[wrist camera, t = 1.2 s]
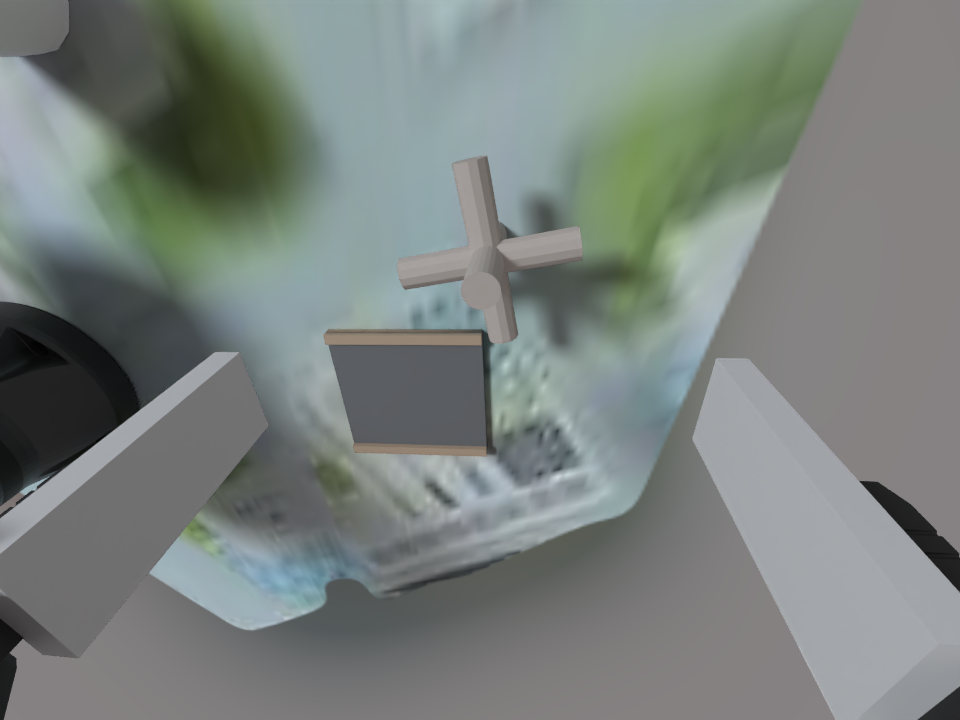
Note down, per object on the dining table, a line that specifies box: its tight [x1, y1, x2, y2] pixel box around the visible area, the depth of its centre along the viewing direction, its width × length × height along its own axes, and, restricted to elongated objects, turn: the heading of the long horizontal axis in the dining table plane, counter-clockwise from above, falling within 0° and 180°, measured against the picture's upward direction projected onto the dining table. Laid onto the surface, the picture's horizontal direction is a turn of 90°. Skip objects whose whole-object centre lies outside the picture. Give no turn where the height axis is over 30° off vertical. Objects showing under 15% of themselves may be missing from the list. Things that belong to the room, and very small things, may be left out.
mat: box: [323, 329, 487, 457], centre depth 34 cm, size 12×12×1 cm
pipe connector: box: [397, 156, 583, 343], centre depth 23 cm, size 10×10×10 cm
